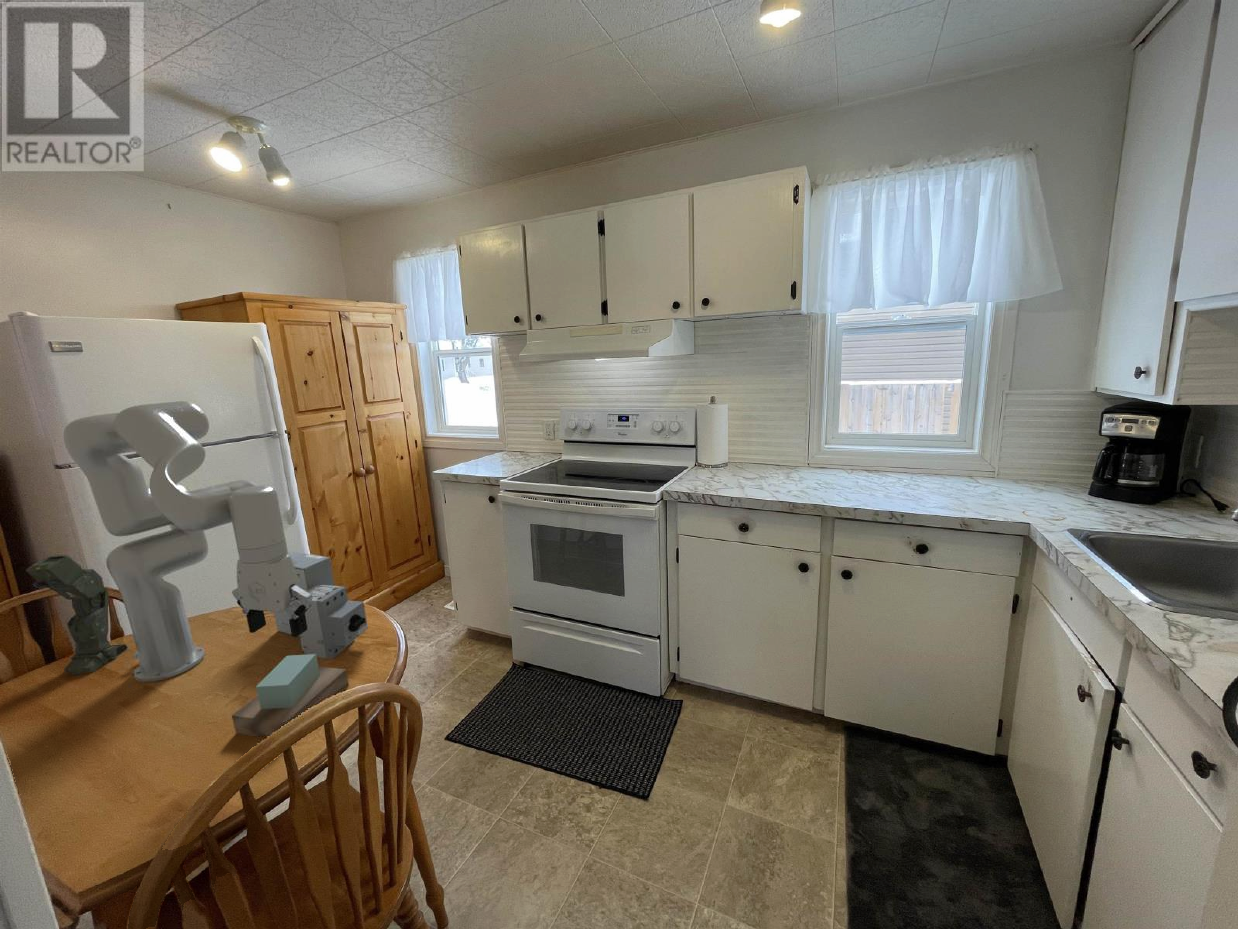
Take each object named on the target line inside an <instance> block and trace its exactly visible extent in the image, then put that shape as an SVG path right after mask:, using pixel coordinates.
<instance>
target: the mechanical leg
mask: <svg viewBox="0 0 1238 929" xmlns="http://www.w3.org/2000/svg"><path fill="white" fill-rule="evenodd" d="M25 572H26V573H28V574H29V575H30V576H31V577H32V578H33V579H34V580H36V581H37V582H34V583H33V584H32V586H33V587H34V588H46V589H49V590H52V591H54V592H55V593H57V594H58V595H60V596H62V597H63V598H64V599H66V600H69V601H70V600H71V606H72V609H73V610H74V613H75V614H74V615H73V616H71V617H70V619H69V620H68V622H67V623H66V625H67V628H68V631H69V634H70V637H72V640H73V642H74V643H75V648H74V655H72V657H70V660H71V661H70V662H69V663H68V664H67V665H66V666H65V668H64V669H63V671H64V672H65V675H67V676H70V675H73V676H74V675H84V674H85V675H86V674H92V673H93V672H96V671H97V670H98V669H99V668H101V667H102V666H104V665H106V664H108V663H109V662H110V661H112V660H115V659H116V658H118V656H119V655H120V654H123V652H125V651H126V650H127V649H128V648H129V647H128V645H127V644H125V643H124V644H114V645H113V644H110V641H109V640H108V635H109V632H110V631H109V601H110V600H109V598H110V596H109V590H108V589H106V588H105V587H104V586H105V585H104V580H103V577H102V576H101V575H100V574H99V573H98V572H97V571H95V569H94V568H89V569H83V568H82V566H81V565H80V564H79V563H78V562H76V560H74V559H73V558H72V557H71V556H70V555H69V554H59V555H58V554H57V555H55V554H54V555H48V556H46V557H43V558H42V559H40V560H38V561H37V562H35V563H34V564H32V565H31V566H29V567H28V568H26V569H25Z"/></svg>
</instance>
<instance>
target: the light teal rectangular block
mask: <svg viewBox="0 0 1238 929" xmlns="http://www.w3.org/2000/svg"><path fill="white" fill-rule="evenodd" d="M317 658H318V657H316V654H309V655H303V654H296V655H295V654H294V655H293V654H291V655H286V656H285V657H284V658H283V659H282V660H281V661H279V663H278V664H277V665H276V666H275V667H274V668H273V669H272V670H271V671H270V672H269V673H268V674H267V675H266V676H265V677H264V678H263V679H262V680H261V681H260V682H259V683H258V684H257V685H256V686H255V690H256V694H257V696H258V698H259V703H260V707H261V709H274V708H291V707H293V706H294V705H295V704H296V703H297V702H298V700H299V699H300V698H301V697H302V696H303V694H304V693H305V692H306V691H307V690H308V688H309V687H310V686H311V685H312V684H313V682H314V681H315V680H316V679H317V678H318V677H319V675H320V673H319V668H318V667H319V662H318V659H317Z"/></svg>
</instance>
